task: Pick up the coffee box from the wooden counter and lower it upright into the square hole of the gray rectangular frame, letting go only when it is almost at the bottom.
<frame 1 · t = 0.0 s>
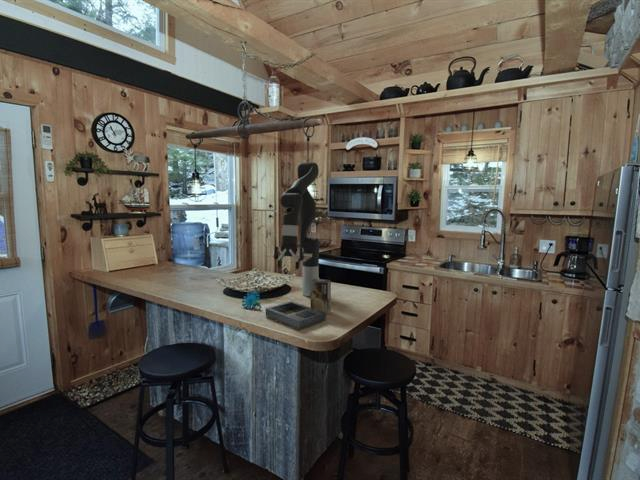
hand: (288, 269, 163), 22 cm above the countertop, tool pointing down, fingers open, 8 cm apart
gear: (251, 307, 176), on the countertop
coffee box: (320, 312, 169), on the countertop
gray rectangular frame: (289, 316, 162), on the countertop
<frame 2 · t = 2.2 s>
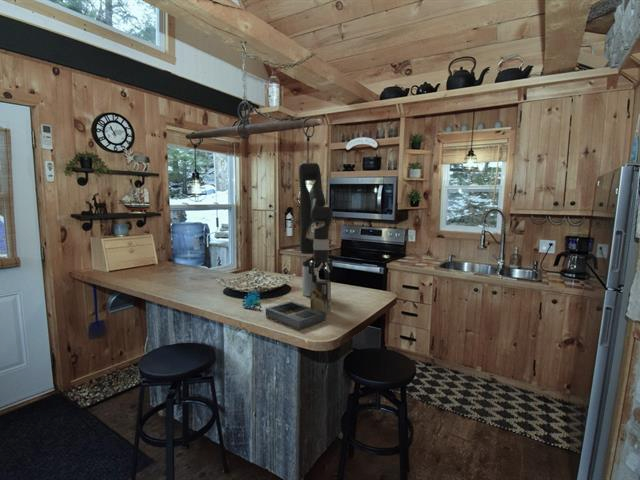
hand: (320, 281, 167), 16 cm above the countertop, tool pointing down, fingers open, 8 cm apart
coffee box: (320, 312, 169), on the countertop, touching gripper
everything else where it was.
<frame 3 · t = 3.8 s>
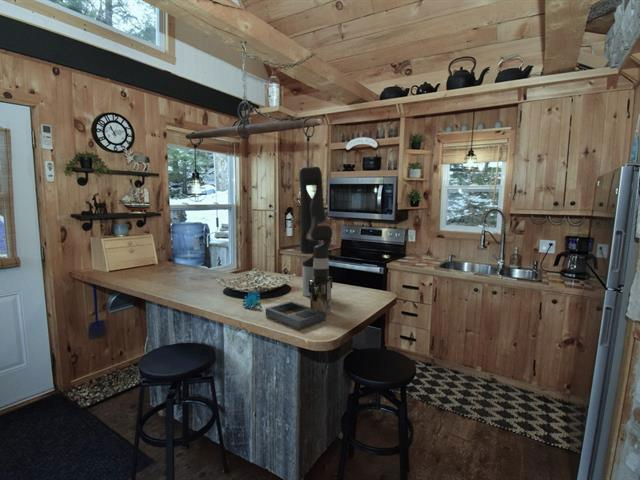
hand: (320, 299, 168), 7 cm above the countertop, tool pointing down, fingers closed on coffee box, 8 cm apart
coffee box: (320, 312, 169), on the countertop, touching gripper
everything else where it was.
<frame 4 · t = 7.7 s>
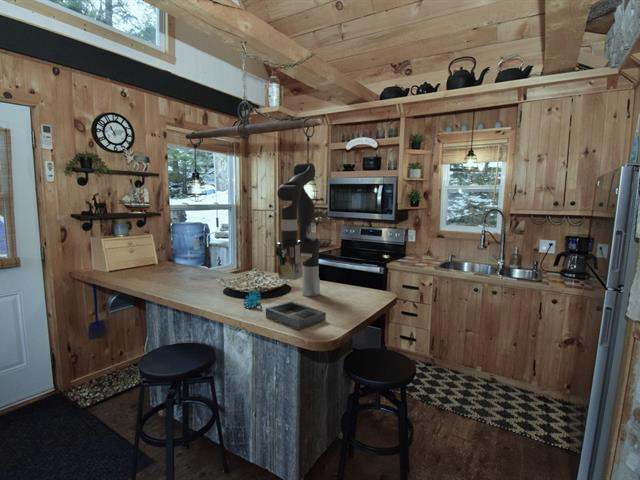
hand: (289, 263, 159), 25 cm above the countertop, tool pointing down, fingers closed on coffee box, 8 cm apart
coffee box: (289, 278, 160), point 19 cm above the countertop, touching gripper
everything else where it was.
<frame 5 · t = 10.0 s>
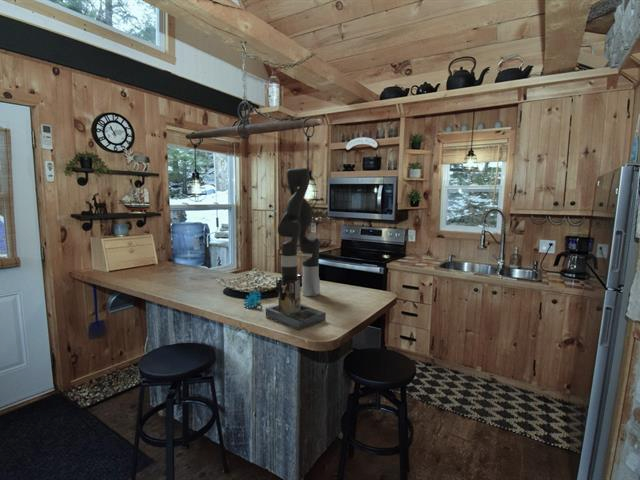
hand: (289, 298, 161), 9 cm above the countertop, tool pointing down, fingers closed on coffee box, 8 cm apart
coffee box: (289, 312, 162), point 2 cm above the countertop, touching gripper
everything else where it was.
when the fingers open (7 cm above the countertop, at t = 11.8 s): coffee box stays where it is, resting in gray rectangular frame.
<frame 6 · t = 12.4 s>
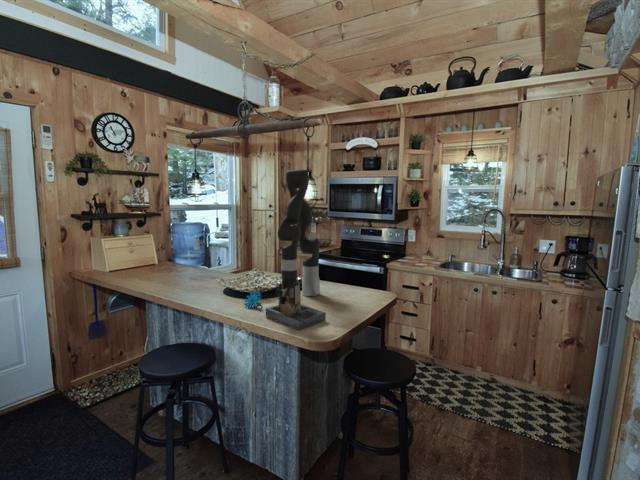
hand: (289, 302, 162), 7 cm above the countertop, tool pointing down, fingers open, 8 cm apart
coffee box: (289, 317, 163), resting in gray rectangular frame, touching gripper
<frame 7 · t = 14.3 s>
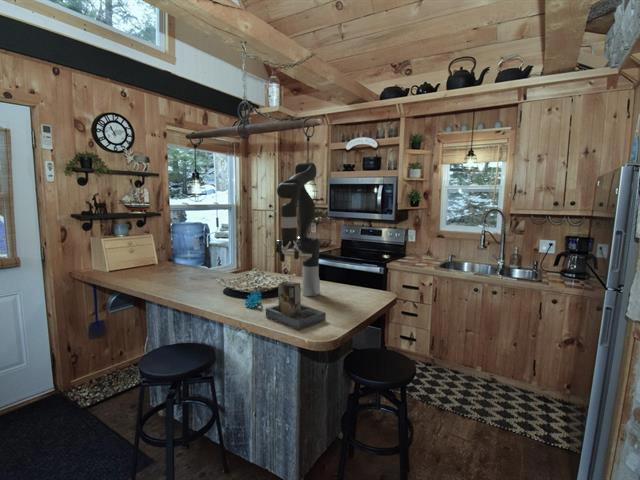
hand: (289, 260, 162), 27 cm above the countertop, tool pointing down, fingers open, 8 cm apart
coffee box: (289, 317, 163), resting in gray rectangular frame
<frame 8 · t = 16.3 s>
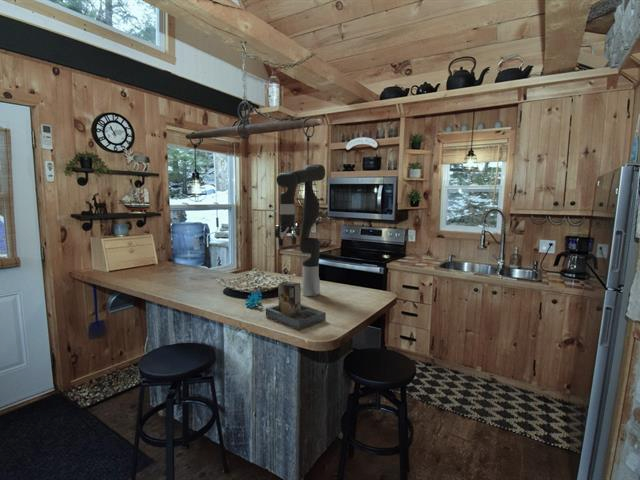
hand: (287, 245, 173), 32 cm above the countertop, tool pointing down, fingers open, 8 cm apart
at the end: coffee box inside the target area on the gray rectangular frame (0.1 cm from its centre), point 0.0 cm above the gray rectangular frame's base; coffee box tilted 0°; the gripper is holding nothing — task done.
